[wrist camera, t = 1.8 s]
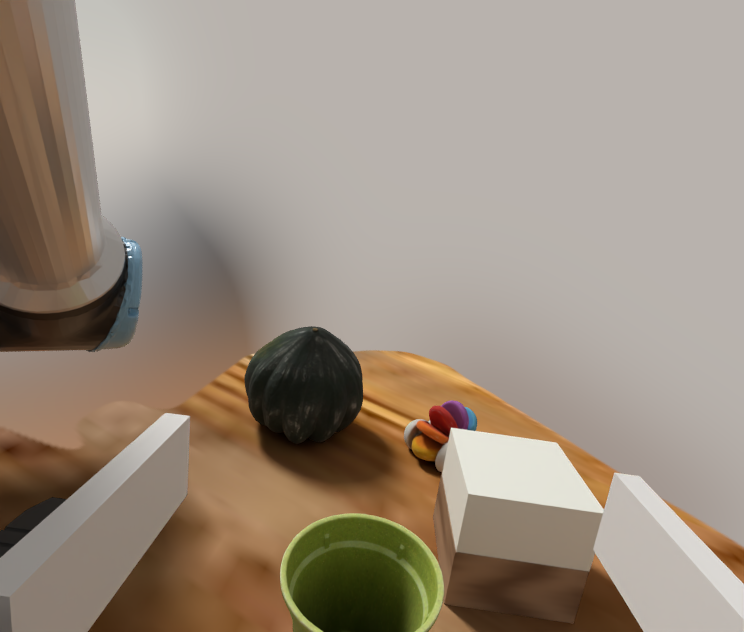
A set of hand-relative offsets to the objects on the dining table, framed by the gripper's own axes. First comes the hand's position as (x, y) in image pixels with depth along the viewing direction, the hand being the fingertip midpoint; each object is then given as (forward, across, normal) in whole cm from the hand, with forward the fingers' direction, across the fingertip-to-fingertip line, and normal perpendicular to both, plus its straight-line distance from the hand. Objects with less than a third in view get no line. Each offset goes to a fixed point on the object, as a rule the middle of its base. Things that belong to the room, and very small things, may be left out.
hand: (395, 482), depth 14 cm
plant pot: (+10, 0, -21) cm, 23 cm away
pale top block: (+21, +12, -16) cm, 29 cm away
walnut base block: (+21, +12, -21) cm, 32 cm away
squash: (+41, -9, -20) cm, 46 cm away
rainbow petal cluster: (+38, +9, -20) cm, 45 cm away
